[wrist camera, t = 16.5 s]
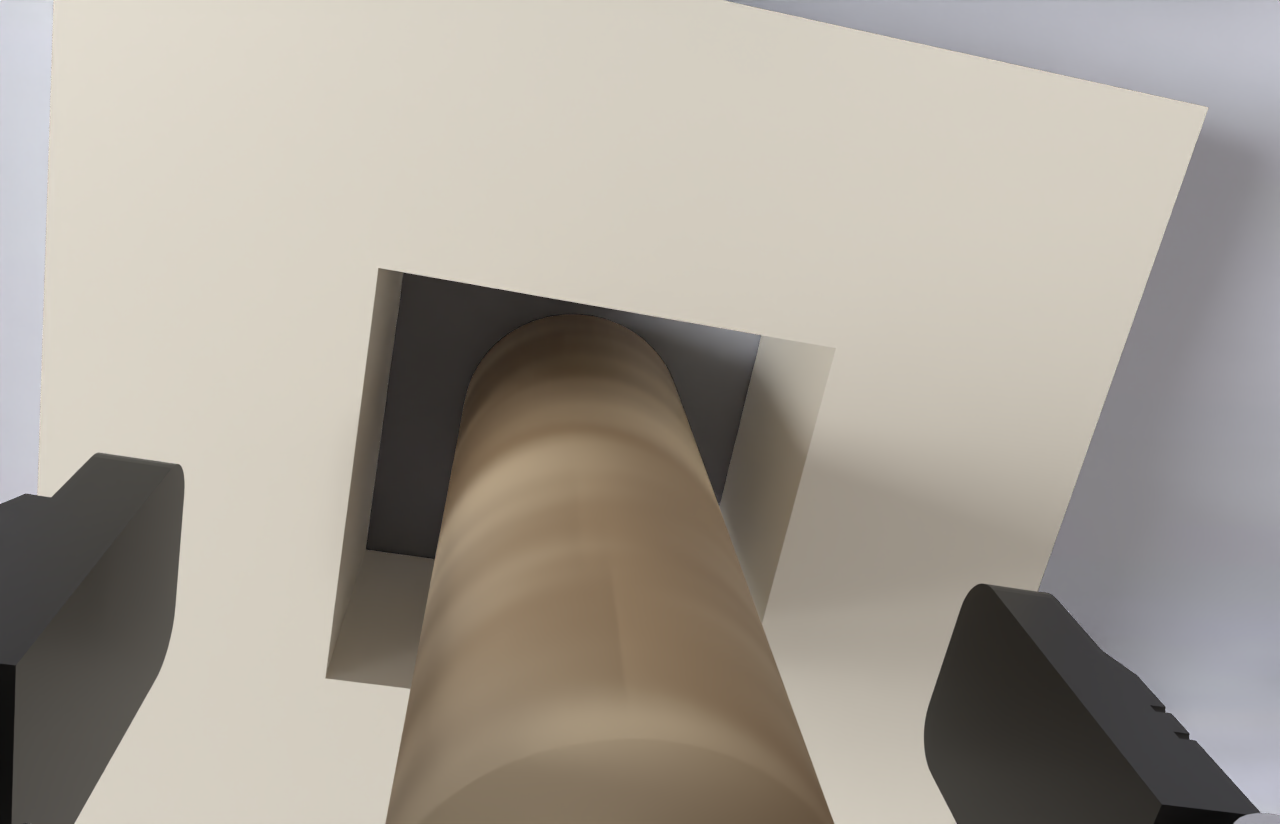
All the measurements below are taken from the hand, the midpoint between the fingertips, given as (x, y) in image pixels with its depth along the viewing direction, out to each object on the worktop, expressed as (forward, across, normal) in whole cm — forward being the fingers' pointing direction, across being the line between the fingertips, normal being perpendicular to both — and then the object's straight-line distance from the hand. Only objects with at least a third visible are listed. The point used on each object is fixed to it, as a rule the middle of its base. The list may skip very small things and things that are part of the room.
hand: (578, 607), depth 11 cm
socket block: (+6, 0, 0) cm, 6 cm away
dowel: (+6, 0, 0) cm, 6 cm away
